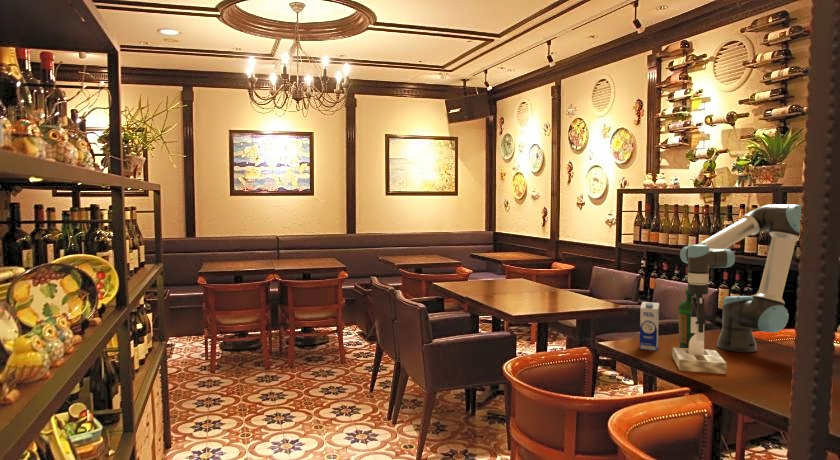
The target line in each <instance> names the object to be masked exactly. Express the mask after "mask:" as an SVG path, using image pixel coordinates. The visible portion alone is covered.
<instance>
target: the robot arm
mask: <svg viewBox="0 0 840 460" xmlns="http://www.w3.org/2000/svg"><path fill="white" fill-rule="evenodd" d="M801 205H802V204H795V203H790V204H789V203H788V204H776V203H774V204H773V203H770V204H766V205H762V206H759V207H757V208H755V209H752V210H750V211H749V212H747V213H745V214H743V215H741V216H740V218H739V220H738V221H736V222H734V223H732V224H731V225H728V226H727V227H725V228H723V229H722V230H720V231H717V232H716V233H715V234H712V235H711V236H709V237H707V238H706V239H704V240H702V241H700V242H699V243H697V244H690V245H689V246H688V245H686V246H683V247H682V249H681V250H680V253H679V257H680V260H681V262H683V263H685V264H687V274H686V278H687V283H688V284H687V288H688V293H690V294H691V295H692V299H691V309H690V314H691V316H692V317H691V333H696V340H698V341H703V342H705V325H706V322H707V321H706V306H705V301H706V300H705V297H703V295H708V294H709V281H710V278H709V277H710V272H709V271H710V269H717V268H719V269H721V268H723V269H725V268H730V267H732V266H733V265H734V264H735V262H736V254H735V253H734V251H733V250H731V249H730V248H729V247H731V246H733V245H735V244H736V243H739V242H740V241H742V240H744V239H746V238H748V237H749V236H755V235H757V234H759V233H762V232H768V235H770V237H771V240H770V245H769V249H768V252H767V256H766V260H765V264H764V268H763V273H762V277H761V281H760V285H759V289H758V292H757V293H756V294H753V296H751V295H732V296H731V295H729V296H725V297H724V298H723V301H722V308H721V309H722V313H721V314H722V318H721V319H722V321H721V324H722V325H721V326H722V327H721V332H720V333H719V337H718V339H717V342H716V343H717V344H716V346H717V348H719V349H722V350H725V351H729V352H738V353H754V352H757V343H756V339H755V337H754V334H753V330H757V331H761V332H764V333H772V334H774V333H778V332H780V331H782V330H783V329H785V327H786V326H787V323H788V322H789V318H790V315H789V313H788V312H789V311H788V309H787V308H786V307H785V303H786V302H785V301H784V299H783V296H784V295H783V293H784V292H785V291H784V290H785V286H786V282H787V278H788V274H789V270H790V266H791V262H792V257H793V253H794V250H795V246H796V242H798V241H800V240H799V234H800V219H801Z"/></svg>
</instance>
